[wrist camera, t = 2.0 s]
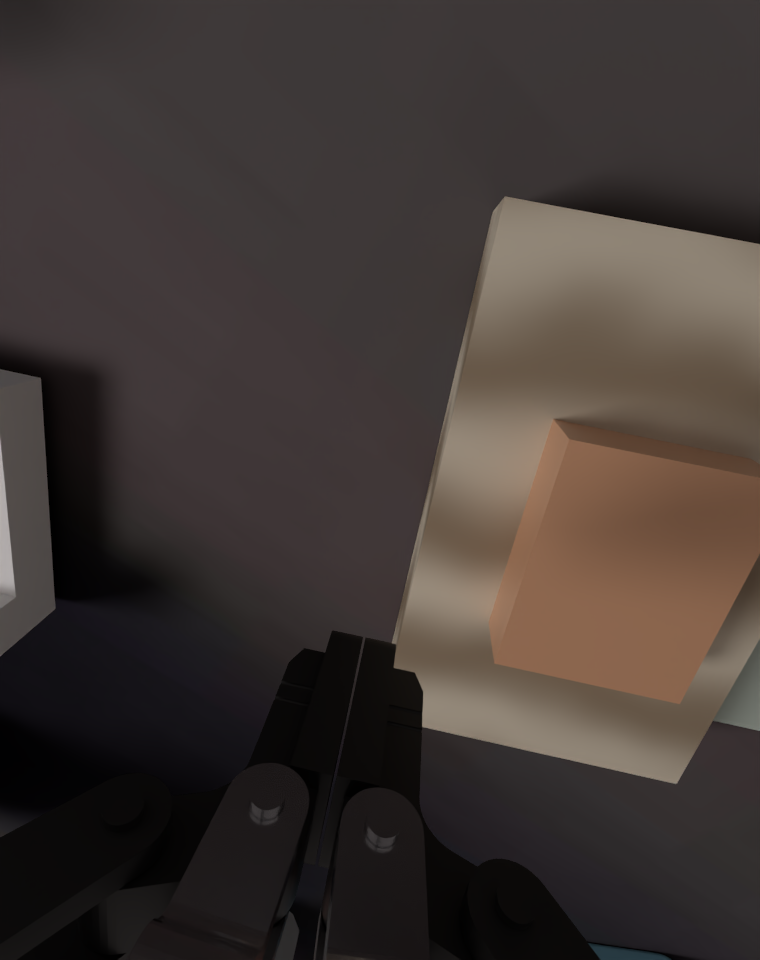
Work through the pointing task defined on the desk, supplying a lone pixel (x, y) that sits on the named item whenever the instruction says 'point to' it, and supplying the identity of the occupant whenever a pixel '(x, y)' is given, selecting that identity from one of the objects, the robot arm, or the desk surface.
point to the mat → (744, 696)
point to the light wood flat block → (520, 442)
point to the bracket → (23, 510)
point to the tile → (626, 560)
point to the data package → (624, 953)
